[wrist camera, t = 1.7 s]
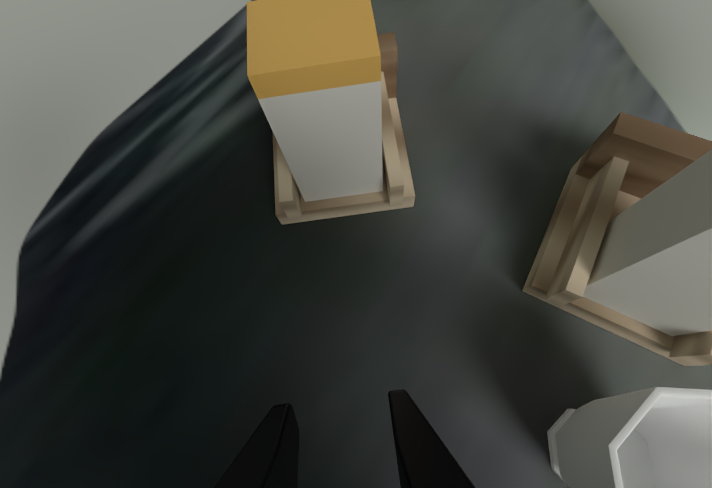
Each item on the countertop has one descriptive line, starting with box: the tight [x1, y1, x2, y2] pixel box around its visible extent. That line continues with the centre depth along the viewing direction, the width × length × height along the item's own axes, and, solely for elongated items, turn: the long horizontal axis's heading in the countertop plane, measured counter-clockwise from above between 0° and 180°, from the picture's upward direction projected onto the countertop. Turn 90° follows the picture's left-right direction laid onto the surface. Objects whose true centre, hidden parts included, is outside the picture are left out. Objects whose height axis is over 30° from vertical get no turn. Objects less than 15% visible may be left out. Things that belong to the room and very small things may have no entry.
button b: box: [583, 149, 712, 336], centre depth 15 cm, size 4×5×10 cm
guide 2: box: [522, 112, 712, 366], centre depth 19 cm, size 10×9×6 cm
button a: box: [247, 0, 383, 202], centre depth 19 cm, size 4×5×10 cm
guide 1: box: [273, 32, 415, 225], centre depth 23 cm, size 10×9×6 cm
